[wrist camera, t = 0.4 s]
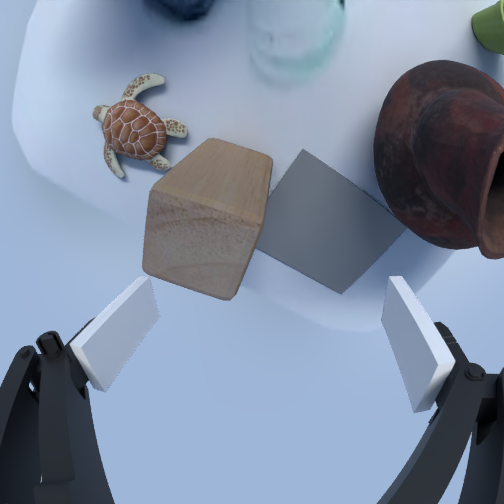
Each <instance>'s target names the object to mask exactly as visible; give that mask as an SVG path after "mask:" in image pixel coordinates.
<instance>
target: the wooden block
mask: <svg viewBox="0 0 504 504" xmlns="http://www.w3.org/2000/svg"><path fill="white" fill-rule="evenodd" d="M272 165H273V162H272V158H271V157H269V156H268V155H265V154H262V153H260V152H257V151H254V150H251V149H248V148H244V147H241V146H238V145H235V144H232V143H229V142H225V141H222V140H219V139H215V138H209V139H207V140H206V141H205V142H203V143H202V144H201V145H200V146H198V147H197V148H196V149H195V150H194V151H192V152H191V153H190V154H189V155H187V156H186V157H185V158H184V159H183V160H181V161H180V162H179V163H178V164H177V165H176V166H174V167H173V168H172V169H171V170H170V171H169V172H168V173H166V174H165V175H164V176H163V177H162V178H161V179H160V180H159V181H157V182H156V183H155V184H154V185H153V187H152V188H151V190H150V193H149V200H148V208H147V216H146V226H145V236H144V248H143V263H142V268H143V271H144V272H145V273H147V274H148V275H150V276H153V277H156V278H159V279H162V280H164V281H167V282H170V283H173V284H176V285H179V286H182V287H184V288H187V289H190V290H193V291H197V292H200V293H202V294H206V295H209V296H212V297H215V298H218V299H221V300H231V299H232V298H233V297H234V296H235V295H236V293H237V291H238V289H239V286H240V284H241V282H242V279H243V277H244V274H245V272H246V269H247V267H248V264H249V262H250V260H251V257H252V255H253V252H254V250H255V247H256V245H257V242H258V240H259V238H260V235H261V233H262V230H263V227H264V221H265V214H266V207H267V200H268V193H269V186H270V179H271V172H272Z"/></svg>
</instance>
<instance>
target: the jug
mask: <svg viewBox="0 0 504 504" xmlns="http://www.w3.org/2000/svg"><path fill="white" fill-rule="evenodd" d="M373 151H374V164H375V171H376V177H377V181H378V184H379V187H380V190H381V192H382V194H383V196H384V198H385V200H386V202H387V204H388V206H389V208H390V209H391V210H392V212H393V213H394V214H395V215H396V217H397V218H398V219H399V220H400V221H401V222H402V223H403V224H404V225H406V226H407V227H408V228H409V229H410V230H411V231H412V232H414V233H415V234H416V235H418V236H419V237H420V238H422V239H423V240H425V241H427V242H429V243H431V244H434V245H436V246H439V247H442V248H447V249H455V250H458V249H468V248H473V247H477V246H478V247H479V250H480V251H481V254H482V255H483V256H485V257H486V258H488V259H500V258H504V89H503V88H502V87H501V86H500V85H499V84H498V83H497V82H496V81H495V80H493V79H492V78H491V77H489V76H488V75H487V74H485V73H483V72H481V71H479V70H477V69H476V68H473V67H471V66H468V65H465V64H462V63H458V62H454V61H449V60H437V61H430V62H426V63H423V64H421V65H418V66H416V67H414V68H412V69H411V70H409V71H407V72H406V73H405V74H403V75H402V76H401V77H400V78H399V79H398V80H397V81H396V82H395V83H394V85H393V86H392V88H391V89H390V91H389V93H388V94H387V96H386V98H385V100H384V103H383V106H382V109H381V111H380V114H379V118H378V122H377V126H376V132H375V138H374V149H373Z"/></svg>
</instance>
